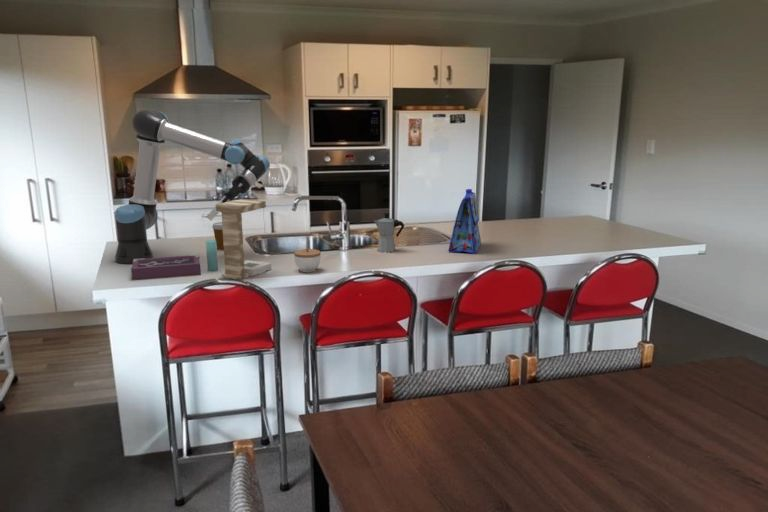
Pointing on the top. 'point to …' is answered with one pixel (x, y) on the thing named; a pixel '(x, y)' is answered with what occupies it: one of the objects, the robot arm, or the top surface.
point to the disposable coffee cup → (218, 235)
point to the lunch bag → (466, 226)
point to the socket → (255, 267)
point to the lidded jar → (307, 259)
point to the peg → (212, 255)
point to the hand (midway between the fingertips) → (212, 213)
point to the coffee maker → (387, 233)
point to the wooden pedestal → (235, 234)
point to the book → (165, 267)
